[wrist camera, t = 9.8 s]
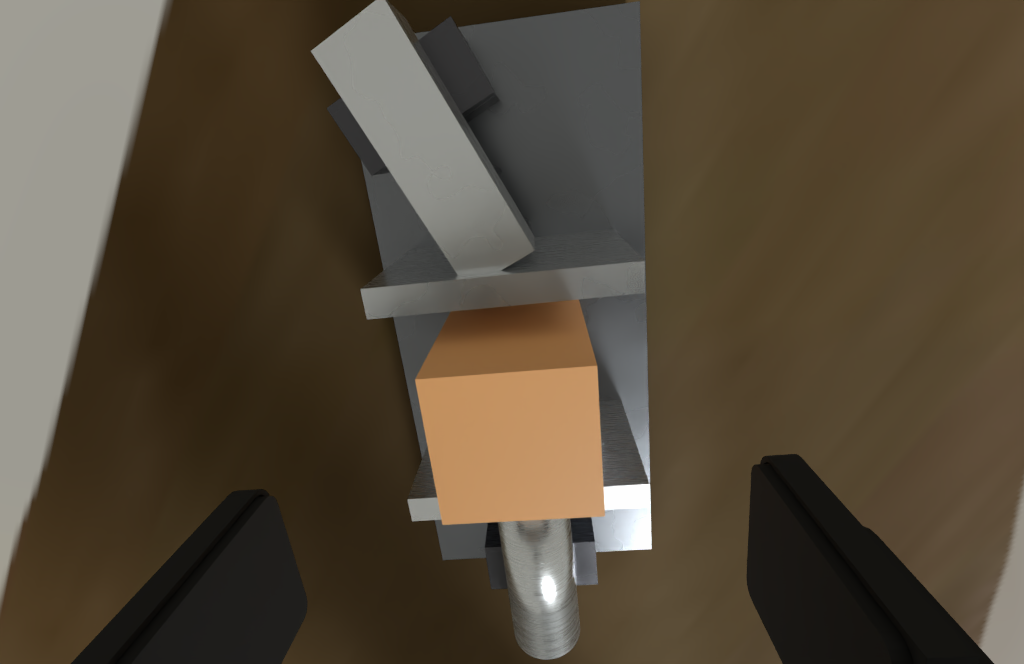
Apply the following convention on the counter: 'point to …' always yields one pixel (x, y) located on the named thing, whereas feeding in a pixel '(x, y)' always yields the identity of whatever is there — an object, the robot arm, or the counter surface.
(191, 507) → the counter surface
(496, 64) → the shaft stand
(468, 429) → the orange block
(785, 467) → the robot arm
